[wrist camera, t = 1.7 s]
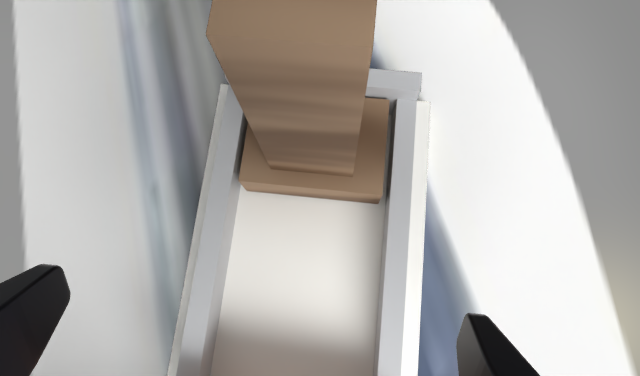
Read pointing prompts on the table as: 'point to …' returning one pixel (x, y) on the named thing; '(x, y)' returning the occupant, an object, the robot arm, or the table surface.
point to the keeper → (304, 95)
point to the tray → (307, 261)
